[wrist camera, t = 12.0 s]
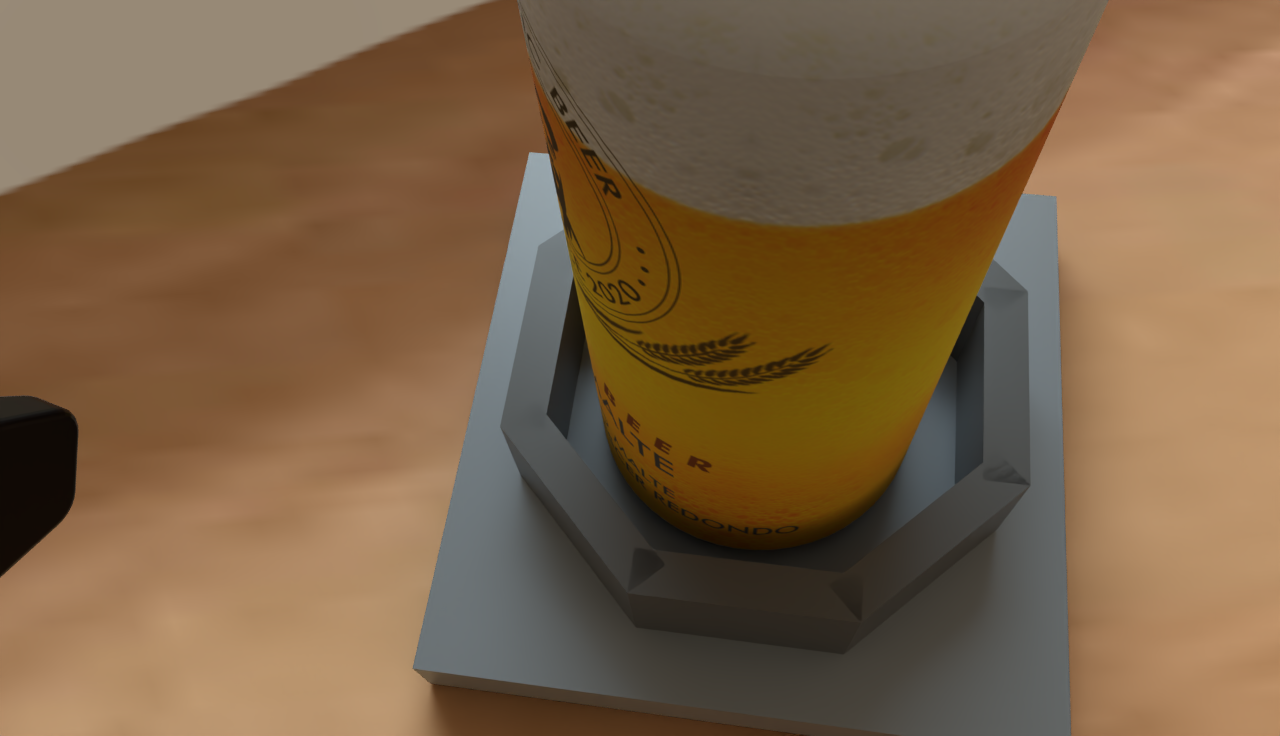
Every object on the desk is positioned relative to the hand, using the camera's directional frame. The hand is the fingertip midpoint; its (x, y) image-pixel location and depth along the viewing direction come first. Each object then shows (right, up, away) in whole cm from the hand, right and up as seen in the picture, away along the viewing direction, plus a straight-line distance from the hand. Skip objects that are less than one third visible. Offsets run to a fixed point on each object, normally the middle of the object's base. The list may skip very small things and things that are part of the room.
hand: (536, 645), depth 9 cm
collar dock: (+3, +1, +15) cm, 16 cm away
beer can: (+3, +1, +14) cm, 14 cm away
